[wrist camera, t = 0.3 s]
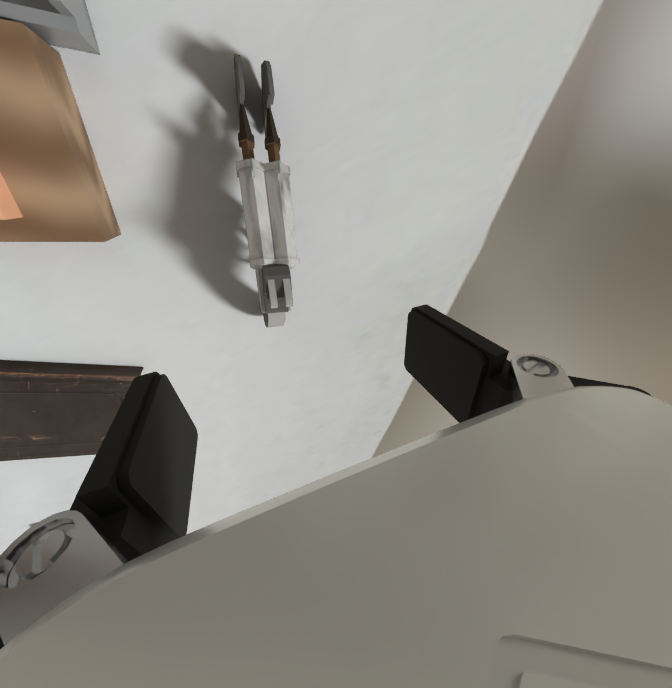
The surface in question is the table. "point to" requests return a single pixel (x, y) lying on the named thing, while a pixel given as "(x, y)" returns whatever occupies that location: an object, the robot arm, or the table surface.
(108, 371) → the hardcover book
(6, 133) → the platform
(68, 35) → the box
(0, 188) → the tile
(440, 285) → the table surface
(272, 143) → the gun
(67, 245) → the table surface
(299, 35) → the table surface
